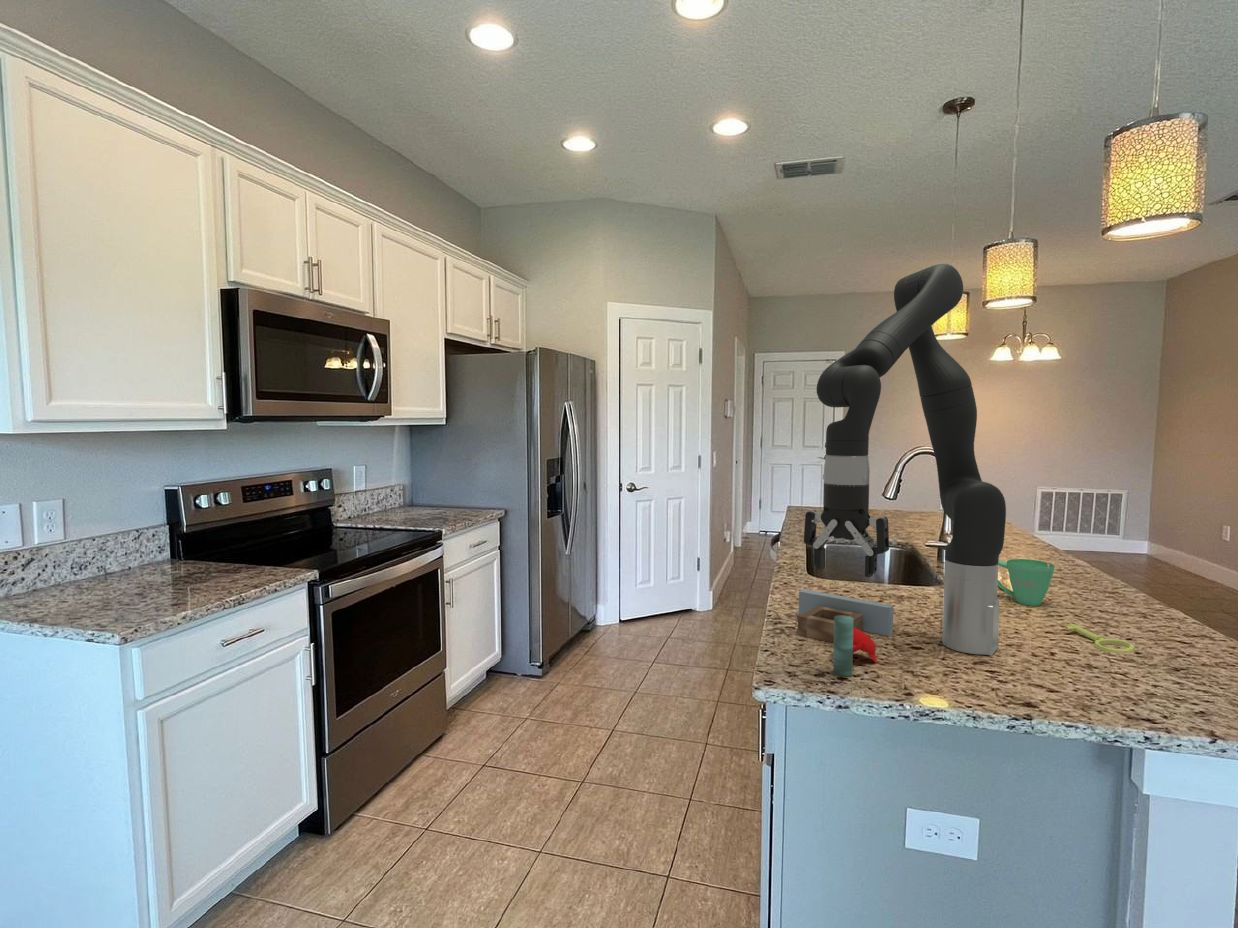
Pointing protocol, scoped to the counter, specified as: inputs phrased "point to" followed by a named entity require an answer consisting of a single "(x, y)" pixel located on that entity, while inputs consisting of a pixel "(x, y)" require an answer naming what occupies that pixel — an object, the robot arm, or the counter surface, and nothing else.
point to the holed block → (824, 622)
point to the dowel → (843, 646)
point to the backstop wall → (852, 609)
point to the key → (1103, 640)
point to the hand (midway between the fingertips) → (844, 572)
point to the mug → (1027, 580)
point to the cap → (864, 643)
